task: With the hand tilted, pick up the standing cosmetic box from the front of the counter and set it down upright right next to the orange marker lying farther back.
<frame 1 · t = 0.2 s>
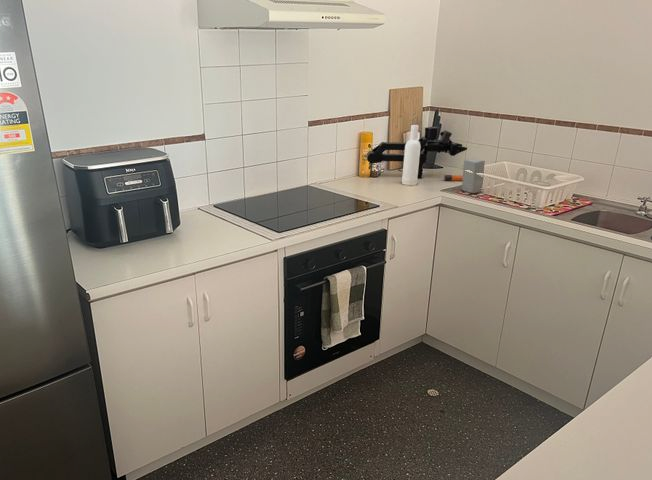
hand: (464, 146, 298), 17 cm above the countertop, tool horizontal, fingers open, 9 cm apart
cosmetic box: (470, 191, 277), on the countertop
bottle: (409, 183, 291), on the countertop
orange marker: (458, 180, 297), on the countertop
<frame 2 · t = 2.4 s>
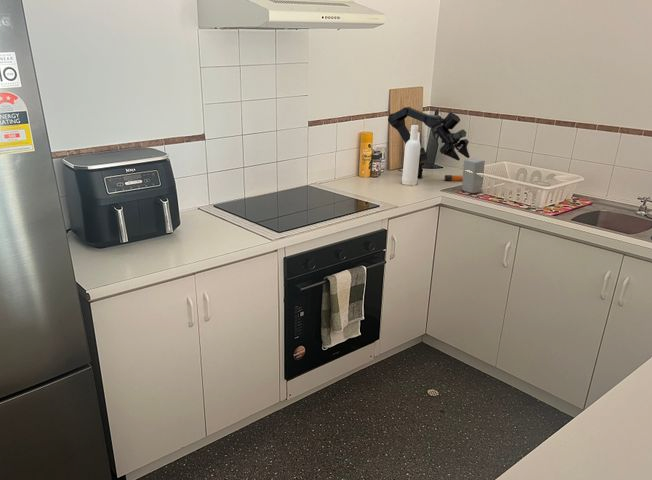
hand: (464, 158, 280), 14 cm above the countertop, tool tilted 50°, fingers open, 9 cm apart
nothing on the countertop moved.
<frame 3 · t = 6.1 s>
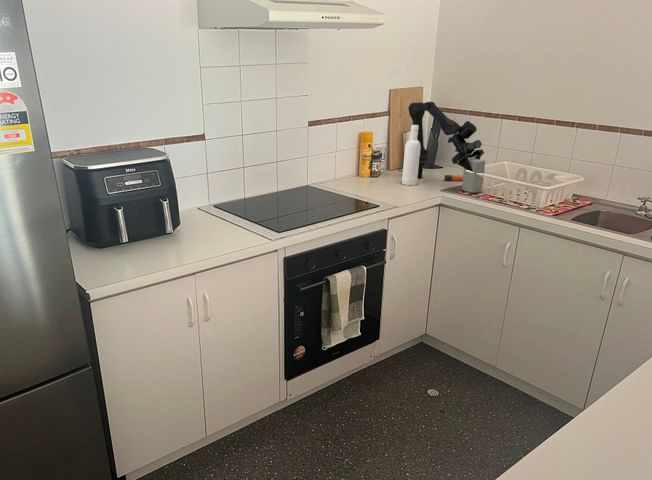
hand: (476, 170, 272), 11 cm above the countertop, tool tilted 45°, fingers closed on cosmetic box, 7 cm apart
cosmetic box: (470, 191, 277), on the countertop, touching gripper
everything else where it was.
when the fingers open (11 cm above the countertop, at t = 11.8 s): cosmetic box stays where it is, on the countertop.
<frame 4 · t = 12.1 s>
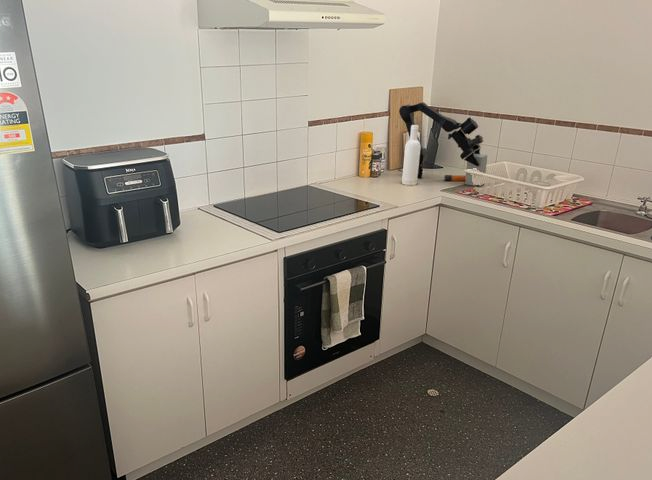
hand: (480, 164, 284), 11 cm above the countertop, tool tilted 45°, fingers open, 9 cm apart
cosmetic box: (473, 185, 289), on the countertop
everything else where it was.
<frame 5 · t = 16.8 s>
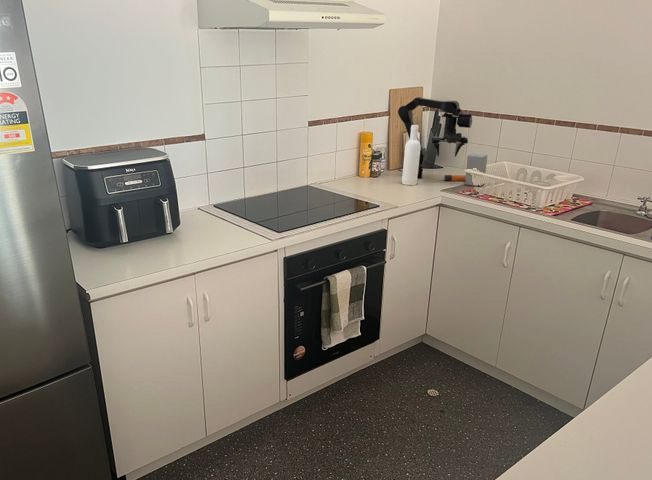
hand: (446, 156, 292), 13 cm above the countertop, tool pointing down, fingers open, 9 cm apart
nothing on the countertop moved.
at the end: cosmetic box 10.5 cm from the orange marker (horizontally); cosmetic box tilted 0°; cosmetic box moved 14.3 cm from its start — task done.
